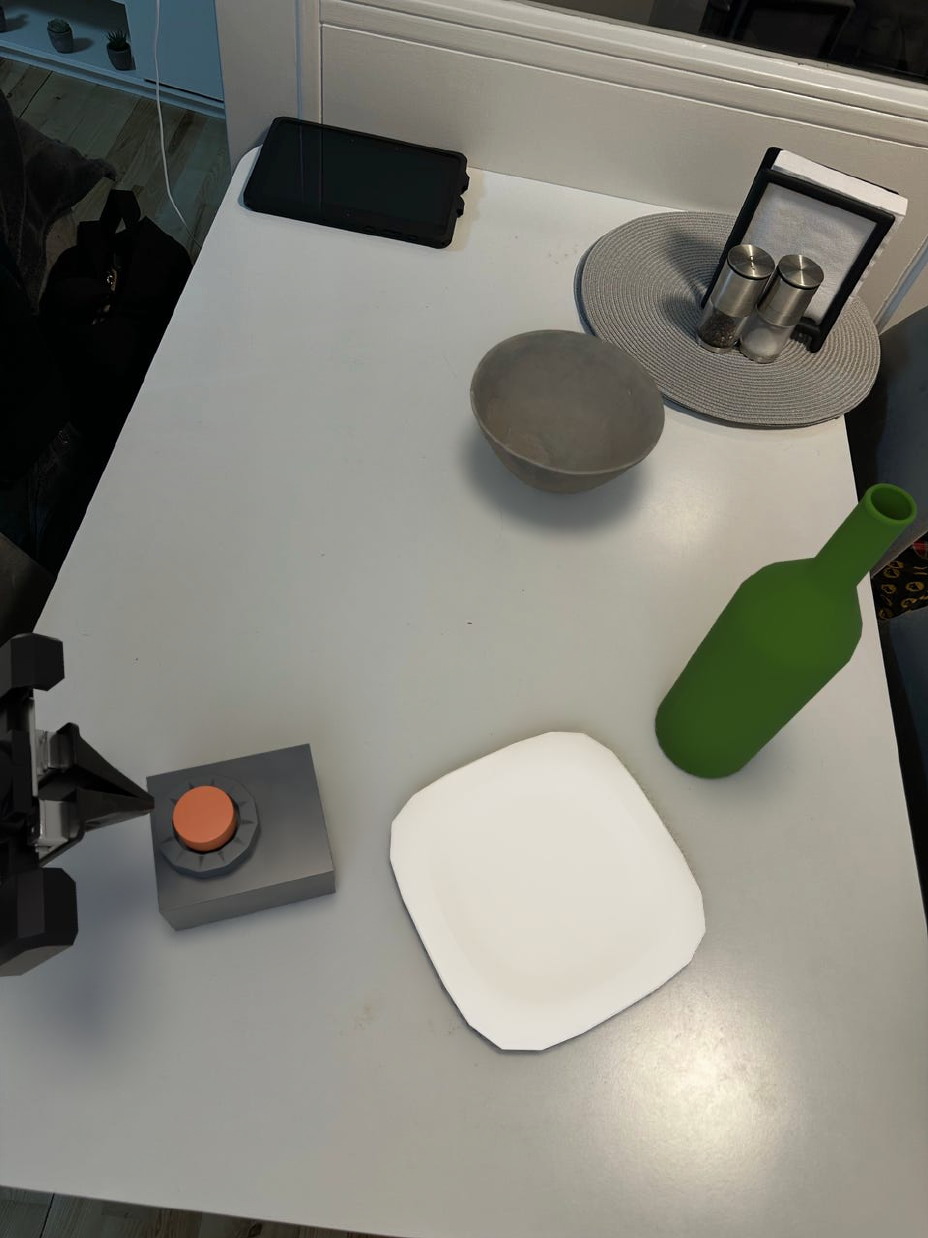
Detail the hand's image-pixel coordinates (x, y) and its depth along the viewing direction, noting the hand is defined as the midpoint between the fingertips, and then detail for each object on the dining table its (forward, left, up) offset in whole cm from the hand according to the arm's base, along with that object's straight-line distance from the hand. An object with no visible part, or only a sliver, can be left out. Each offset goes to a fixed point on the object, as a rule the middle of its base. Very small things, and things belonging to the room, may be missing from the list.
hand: (150, 806), depth 57 cm
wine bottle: (+45, +1, -13) cm, 47 cm away
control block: (+5, 0, -13) cm, 14 cm away
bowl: (+41, +33, -13) cm, 54 cm away
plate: (+27, -8, -13) cm, 31 cm away
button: (+3, 0, -5) cm, 6 cm away
